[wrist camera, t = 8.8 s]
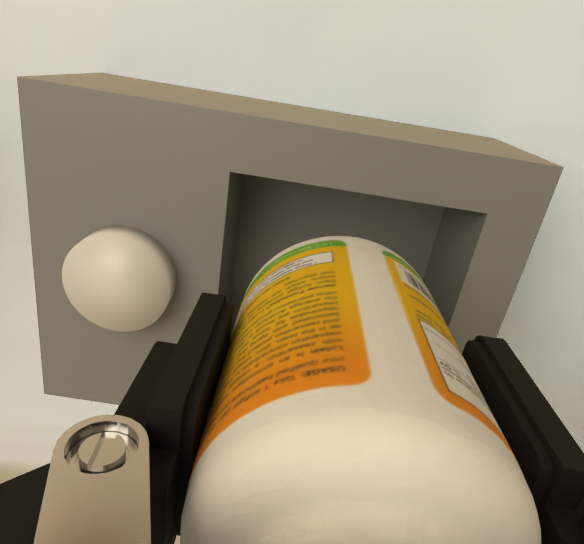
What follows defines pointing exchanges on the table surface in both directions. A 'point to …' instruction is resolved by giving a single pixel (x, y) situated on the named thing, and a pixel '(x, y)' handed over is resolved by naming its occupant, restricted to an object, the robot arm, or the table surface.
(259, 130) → the grey hollow block
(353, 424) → the supplement bottle
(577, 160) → the table surface
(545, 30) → the table surface
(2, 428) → the table surface
